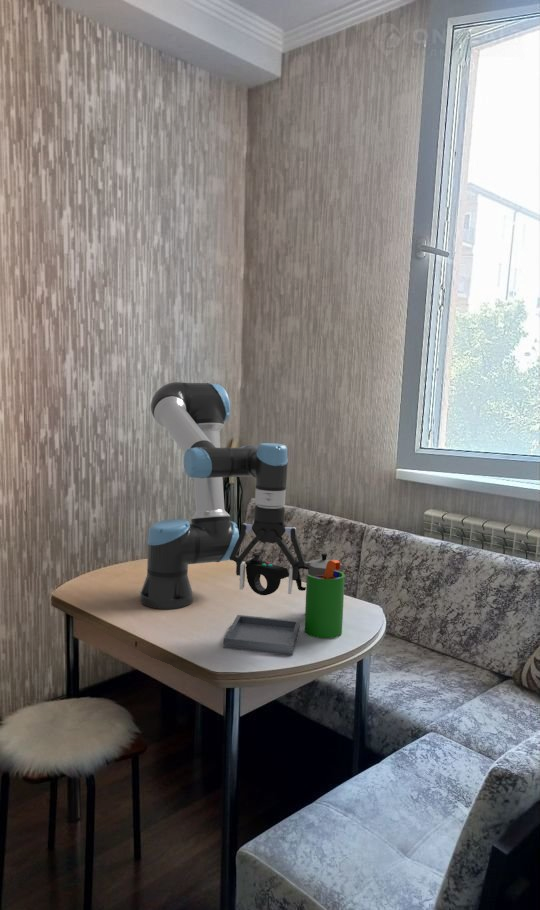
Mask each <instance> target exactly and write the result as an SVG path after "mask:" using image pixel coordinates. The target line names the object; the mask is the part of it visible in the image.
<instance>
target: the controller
mask: <svg viewBox="0 0 540 910" xmlns="http://www.w3.org/2000/svg"><path fill="white" fill-rule="evenodd" d="M261 555H262V554H261V553H259V552H255V553H252V556H253V558H252V559H249V560H246V561H244V562H245V575H246V580H247V583H248V585H249V587H250V589H251V590H252V591H253V592H254V593H255V594H257V595H260V596H268V595H271V594H274V593H275V592H276V591H277V590H278V589H279V587H280V585H281V581H282V579H286V578H289V569H288V568H287V567H283V566H281V565H280V566H279V565H275V564H272V563H270V562H268V561H267V562H266V561H263V559H262V558H260V557H261ZM261 576H263V577H264V578H265V580H266V587H264V586H263V585H262V582H261Z"/></svg>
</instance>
